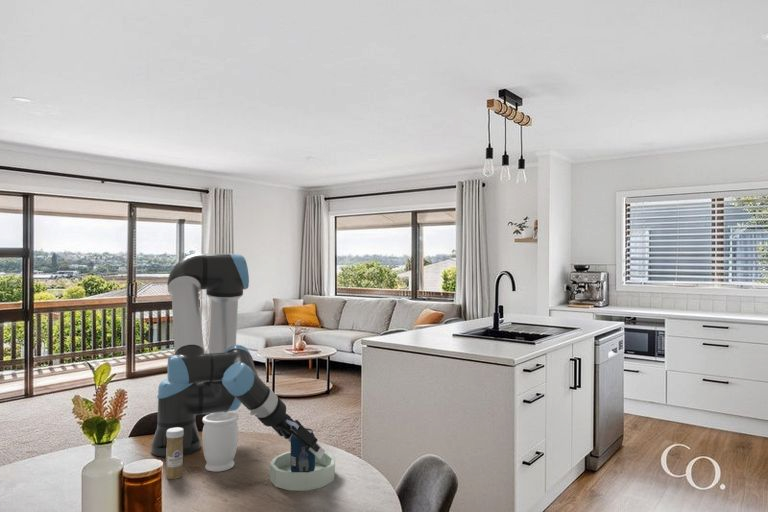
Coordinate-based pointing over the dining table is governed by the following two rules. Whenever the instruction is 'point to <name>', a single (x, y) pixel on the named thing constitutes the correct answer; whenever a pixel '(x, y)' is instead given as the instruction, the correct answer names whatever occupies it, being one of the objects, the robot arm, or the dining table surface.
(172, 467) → the sprinkles bottle
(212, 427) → the jar
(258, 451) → the dining table surface
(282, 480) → the bowl
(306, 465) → the soda can
